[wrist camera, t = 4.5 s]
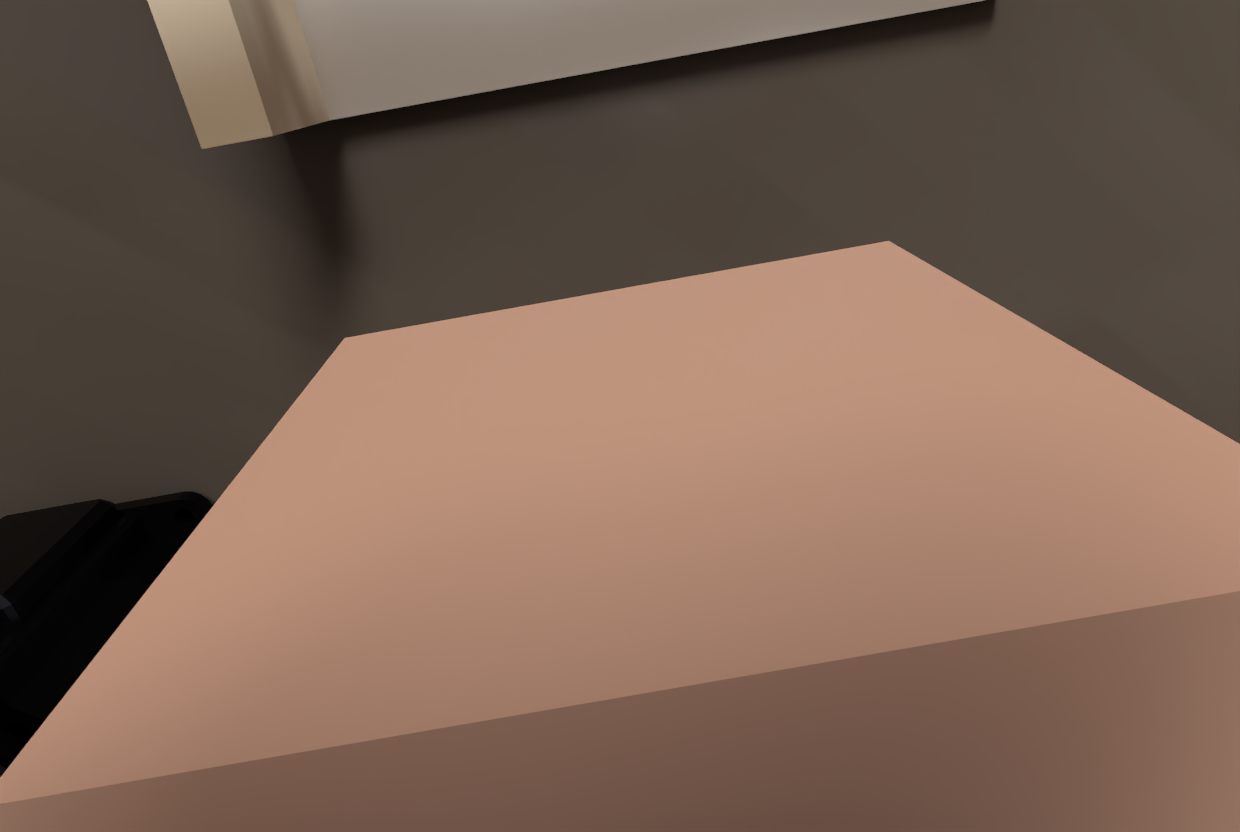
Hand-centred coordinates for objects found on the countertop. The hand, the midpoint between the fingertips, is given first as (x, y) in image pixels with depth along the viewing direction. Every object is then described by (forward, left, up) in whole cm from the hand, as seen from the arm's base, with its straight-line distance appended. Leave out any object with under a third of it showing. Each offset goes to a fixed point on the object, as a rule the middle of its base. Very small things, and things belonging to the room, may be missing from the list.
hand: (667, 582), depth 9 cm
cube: (0, 0, -1) cm, 1 cm away
